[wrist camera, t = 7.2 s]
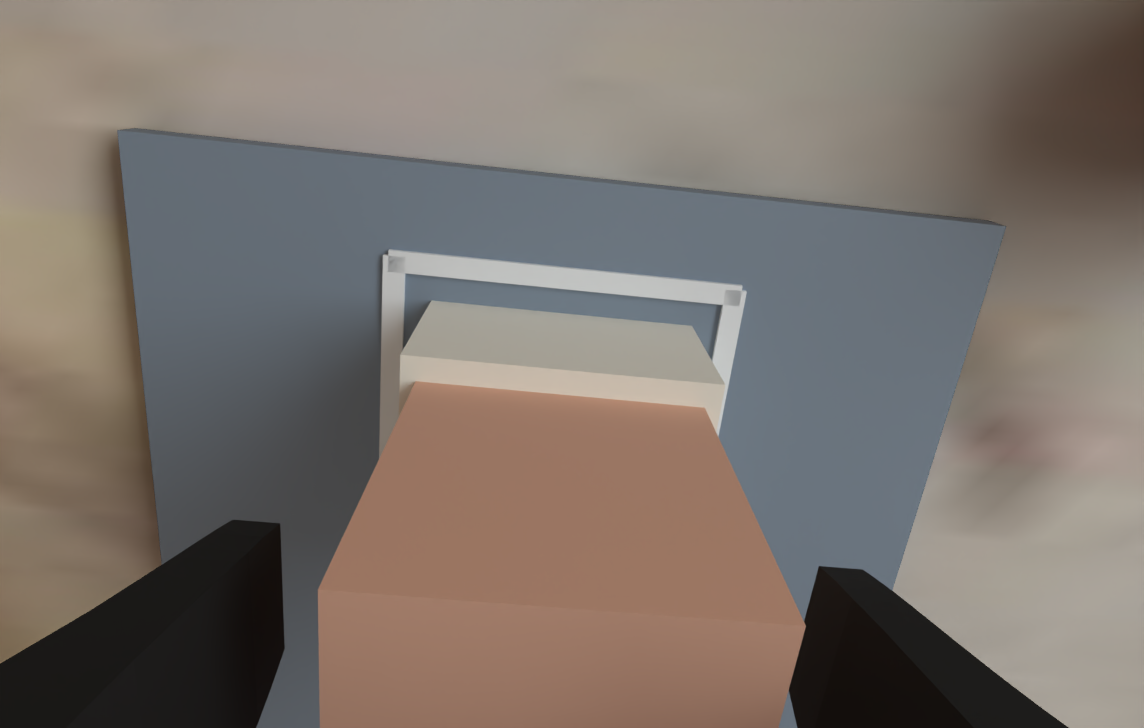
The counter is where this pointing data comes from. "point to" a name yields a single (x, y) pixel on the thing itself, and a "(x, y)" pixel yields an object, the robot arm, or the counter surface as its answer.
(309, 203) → the board
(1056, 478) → the counter surface
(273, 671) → the robot arm
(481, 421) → the terracotta block
